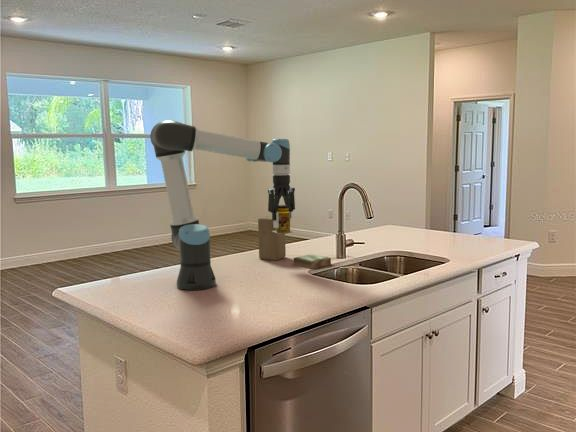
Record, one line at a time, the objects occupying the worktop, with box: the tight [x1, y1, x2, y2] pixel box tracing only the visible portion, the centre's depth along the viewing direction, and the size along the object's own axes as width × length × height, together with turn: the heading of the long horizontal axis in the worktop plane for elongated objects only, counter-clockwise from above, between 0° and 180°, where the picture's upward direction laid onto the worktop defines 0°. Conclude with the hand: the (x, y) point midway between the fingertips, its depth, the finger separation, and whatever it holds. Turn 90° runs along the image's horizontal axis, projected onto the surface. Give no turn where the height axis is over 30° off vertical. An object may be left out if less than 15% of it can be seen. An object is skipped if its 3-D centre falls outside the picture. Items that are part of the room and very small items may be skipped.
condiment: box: [272, 204, 292, 234], centre depth 227 cm, size 7×8×12 cm
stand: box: [293, 253, 332, 270], centre depth 234 cm, size 12×12×3 cm
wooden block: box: [257, 215, 286, 262], centre depth 247 cm, size 10×10×20 cm
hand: (281, 226), depth 227 cm, fingers closed on condiment, 6 cm apart
